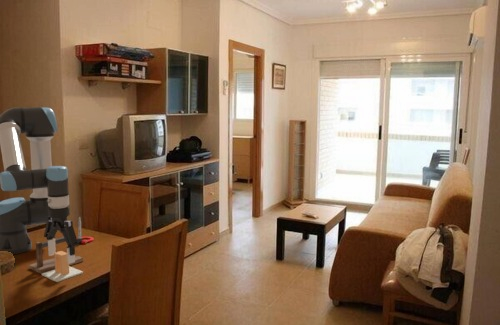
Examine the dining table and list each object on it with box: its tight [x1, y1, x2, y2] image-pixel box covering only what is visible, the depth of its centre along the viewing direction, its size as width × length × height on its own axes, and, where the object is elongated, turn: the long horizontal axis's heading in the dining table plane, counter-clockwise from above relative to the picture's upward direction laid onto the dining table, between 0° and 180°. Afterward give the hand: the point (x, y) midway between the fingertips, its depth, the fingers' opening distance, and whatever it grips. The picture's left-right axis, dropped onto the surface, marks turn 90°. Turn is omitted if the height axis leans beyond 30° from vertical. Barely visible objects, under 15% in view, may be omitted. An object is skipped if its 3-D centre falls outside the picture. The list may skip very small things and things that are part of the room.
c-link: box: [53, 250, 69, 275], centre depth 170 cm, size 5×3×8 cm, turn 54°
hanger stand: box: [28, 236, 84, 275], centre depth 179 cm, size 10×18×12 cm, turn 144°
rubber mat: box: [41, 265, 84, 283], centre depth 170 cm, size 11×11×1 cm
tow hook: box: [76, 216, 95, 245], centre depth 211 cm, size 8×13×9 cm
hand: (61, 259), depth 169 cm, fingers open, 13 cm apart
